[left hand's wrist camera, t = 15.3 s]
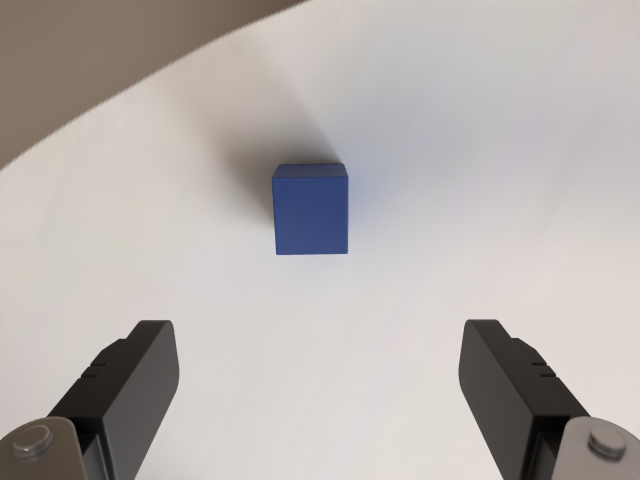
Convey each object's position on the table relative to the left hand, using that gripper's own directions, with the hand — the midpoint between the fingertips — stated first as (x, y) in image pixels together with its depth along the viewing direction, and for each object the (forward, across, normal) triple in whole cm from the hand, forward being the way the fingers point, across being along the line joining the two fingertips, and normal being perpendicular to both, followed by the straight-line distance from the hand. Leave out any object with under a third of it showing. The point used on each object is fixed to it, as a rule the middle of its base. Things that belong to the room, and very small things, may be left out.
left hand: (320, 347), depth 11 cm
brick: (+18, 0, 0) cm, 18 cm away
